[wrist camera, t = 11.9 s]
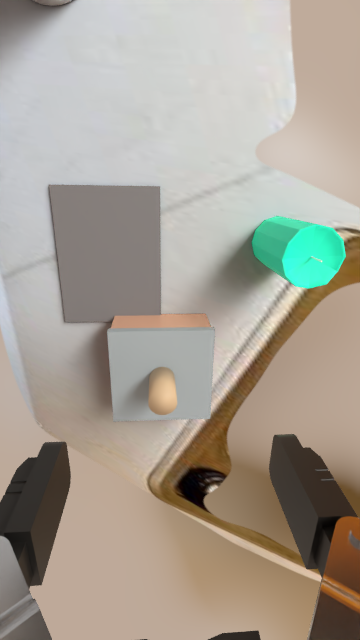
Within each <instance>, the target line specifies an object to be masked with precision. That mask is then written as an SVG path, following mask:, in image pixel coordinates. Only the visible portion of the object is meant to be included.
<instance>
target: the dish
mask: <svg viewBox="0 0 360 640" xmlns="http://www.w3.org/2000/svg"><path fill="white" fill-rule="evenodd" d="M177 327H211V326H210V323H209V321H208V318H207V316H206V314H161V315H138V316H115V317H114V320H113V323H112V326H111V328H177Z"/></svg>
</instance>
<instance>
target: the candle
mask: <svg viewBox="0 0 360 640" xmlns="http://www.w3.org/2000/svg"><path fill="white" fill-rule="evenodd" d="M252 247H253V252H254V255H255V256H256V257H257V258H258V259H259V260H260V261H261V262H262V263H263V264H264V265H265V266H267V267H268V268H270V269H271V270H273V271H274V272H276V273H277V274H278V275H280V276H281V277H283V278H284V279H286V280H287V281H289V282H290V283H292V284H293V285H294V286H297V287H303V288H313V287H317V286H321V285H326V284H327V283H328V282H329V281H330V280H331V279H332V277H333V276H334V275H335V274H336V273H337V272H338V270H339V268H340V266H341V264H342V262H343V261H344V259H345V257H346V255H345V249H344V242H343V239H342V238H341V237H340V236H339V235H338V234H337V232H336V231H335V230H334V229H333V228H330V227H326V226H322V225H318V224H313V223H308V222H304V221H299V220H294V219H290V218H285V217H280V216H276V217H273V218H270V219H267V220H264V221H263V222H262V224H261V225H260V226H259V227H258V228H257V229H256V230H255V233H254V236H253V240H252Z"/></svg>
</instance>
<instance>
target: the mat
mask: <svg viewBox="0 0 360 640" xmlns="http://www.w3.org/2000/svg"><path fill="white" fill-rule="evenodd" d="M49 189H50V198H51V206H52V215H53V223H54V232H55V240H56V249H57V257H58V266H59V274H60V282H61V291H62V299H63V308H64V316H65V322H113V320H114V317H115V316H138V315H161V265H160V187H156V186H93V185H49Z"/></svg>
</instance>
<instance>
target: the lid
mask: <svg viewBox="0 0 360 640" xmlns="http://www.w3.org/2000/svg"><path fill="white" fill-rule="evenodd" d="M107 337H108V351H109V365H110V379H111V394H112V408H113V422H116V421H147V420H178V419H209V418H210V412H211V394H212V376H213V358H214V340H215V329H214V327H177V328H108V331H107Z"/></svg>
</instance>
